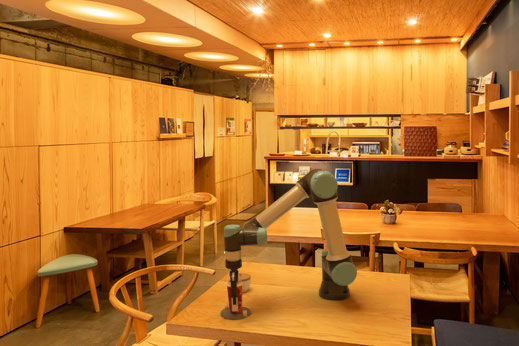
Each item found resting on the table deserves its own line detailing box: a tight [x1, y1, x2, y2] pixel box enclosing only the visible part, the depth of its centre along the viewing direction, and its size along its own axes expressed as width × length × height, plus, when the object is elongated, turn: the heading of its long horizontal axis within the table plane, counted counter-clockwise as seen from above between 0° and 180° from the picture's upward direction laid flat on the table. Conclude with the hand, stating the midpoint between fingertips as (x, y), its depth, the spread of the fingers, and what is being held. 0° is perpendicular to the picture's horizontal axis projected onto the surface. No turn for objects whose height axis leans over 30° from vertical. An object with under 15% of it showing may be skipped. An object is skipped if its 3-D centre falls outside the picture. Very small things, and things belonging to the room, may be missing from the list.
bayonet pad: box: [220, 303, 252, 321], centre depth 233 cm, size 14×14×3 cm
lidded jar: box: [238, 272, 252, 294], centre depth 264 cm, size 11×11×9 cm
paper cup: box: [225, 279, 243, 313], centre depth 232 cm, size 8×8×14 cm
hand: (235, 307), depth 233 cm, fingers closed on paper cup, 7 cm apart
